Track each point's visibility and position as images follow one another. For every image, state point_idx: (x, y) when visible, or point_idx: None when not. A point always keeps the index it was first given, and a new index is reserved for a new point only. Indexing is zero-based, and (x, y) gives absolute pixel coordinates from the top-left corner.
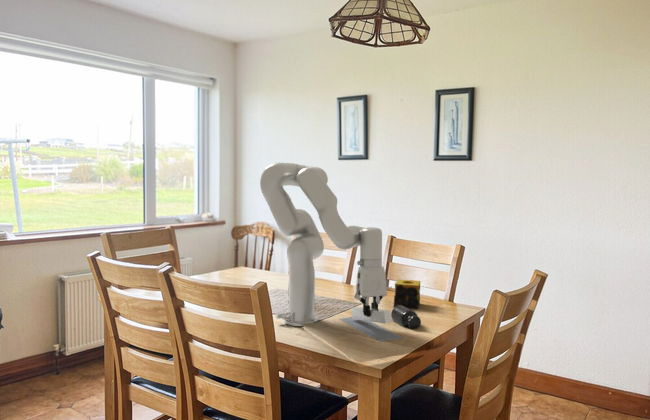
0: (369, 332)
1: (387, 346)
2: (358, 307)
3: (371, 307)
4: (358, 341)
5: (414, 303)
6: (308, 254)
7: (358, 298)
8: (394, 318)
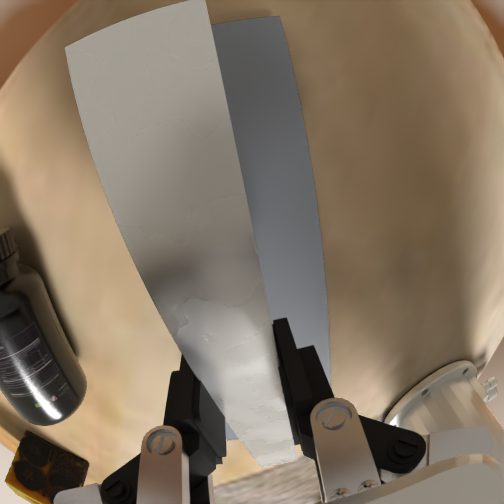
0: (281, 209)
1: (239, 3)
2: (265, 460)
3: (223, 423)
4: (377, 128)
5: (30, 446)
6: None
7: (458, 443)
8: (71, 362)
